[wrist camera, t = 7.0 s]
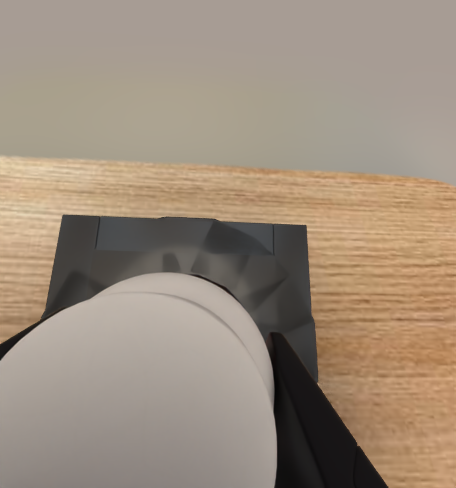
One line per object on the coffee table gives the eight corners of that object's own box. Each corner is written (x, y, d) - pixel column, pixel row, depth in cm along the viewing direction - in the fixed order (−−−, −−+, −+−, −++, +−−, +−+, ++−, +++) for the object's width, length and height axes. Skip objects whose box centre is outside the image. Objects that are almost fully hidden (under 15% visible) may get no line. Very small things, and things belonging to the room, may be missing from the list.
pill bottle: (108, 328, 14) (-191, 393, 3) (201, 269, 15) (190, 184, 5) (165, 430, 13) (-9, 957, 3) (259, 359, 14) (410, 510, 4)
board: (294, 234, 16) (309, 222, 14) (308, 544, 13) (332, 600, 10) (82, 225, 15) (59, 211, 13) (28, 559, 12) (-18, 625, 9)
